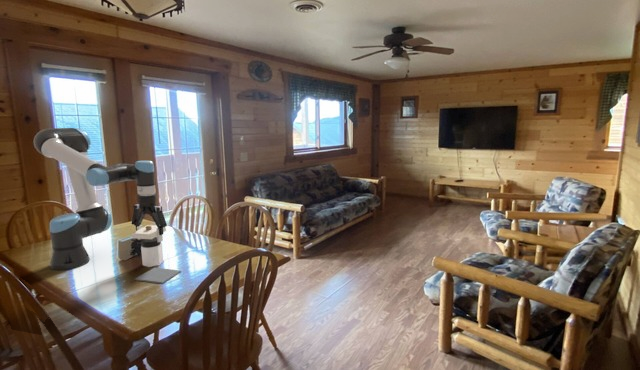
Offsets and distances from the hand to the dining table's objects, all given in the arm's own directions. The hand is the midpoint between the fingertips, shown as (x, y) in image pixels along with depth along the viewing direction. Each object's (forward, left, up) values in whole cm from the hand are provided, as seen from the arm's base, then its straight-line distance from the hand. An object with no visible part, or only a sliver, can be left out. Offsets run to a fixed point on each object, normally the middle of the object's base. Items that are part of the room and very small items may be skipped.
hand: (150, 240), depth 164 cm
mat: (+12, -11, -12) cm, 20 cm away
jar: (0, 0, -12) cm, 12 cm away
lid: (0, 0, +3) cm, 3 cm away
